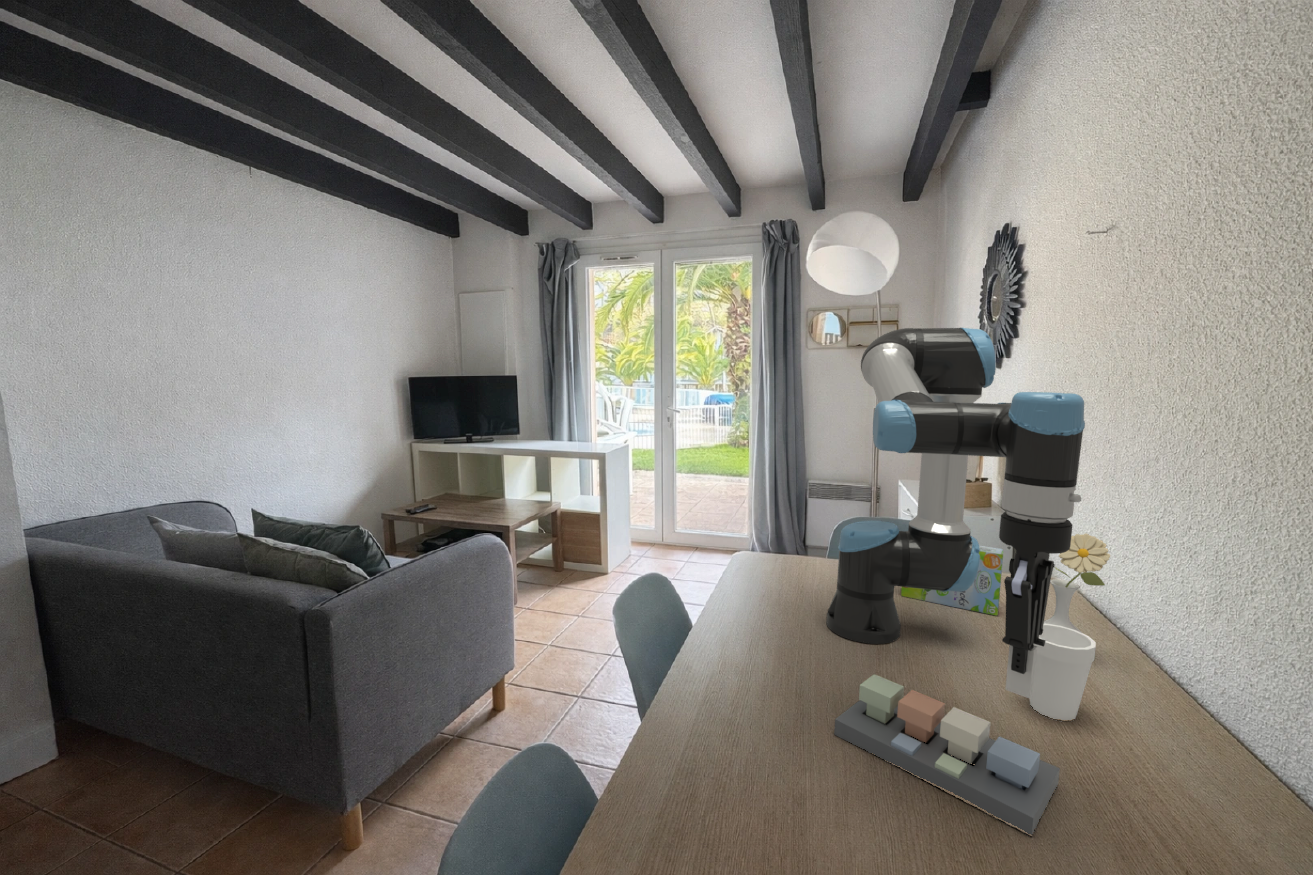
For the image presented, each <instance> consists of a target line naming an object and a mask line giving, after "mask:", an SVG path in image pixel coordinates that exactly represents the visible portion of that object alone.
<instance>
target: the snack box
mask: <svg viewBox="0 0 1313 875" xmlns="http://www.w3.org/2000/svg"><path fill="white" fill-rule="evenodd" d="M979 548H980V551H979V555H980V563H979V569H978V573H977V576H976V578H975V581H974V583H973V584H972V585H971V586H970V588H969V589H967V590H965V591H962V592H955V591H947V592H942V591H939V590H930V589H920V588H910V587H901V586H900V587H901V589H900V596H901V597H903V598H904V597H905V598H910V599H914V600H919V601H923V602H928V603H934V604H938V605H944V606H947V607H953V608H956V609H957V608H958V609H962V610H963V609H964V610H968V611H973V612H977V613H982V614H986V615H992V616H995V617H996V616H997V617H998V615H999V610H1000V608H999V607H1000V599H1001V587H1002V586H1001V584H1002V576H1003V574H1002V572H1003V560H1004V549H1003V548H1000V547H999V548H998V547H991V546H984V545H979Z"/></svg>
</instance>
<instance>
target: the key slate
mask: <svg viewBox="0 0 1313 875" xmlns="http://www.w3.org/2000/svg"><path fill="white" fill-rule="evenodd" d="M1040 758H1041V753H1039V752H1037V751H1034V750H1032V749H1030V748H1028V747H1025V746H1023V745H1021V744H1018V743H1016V742H1014V741H1011V740H1009V739H1007V738H1004V737H1002V736H998V737H997V739H996V741H995V743H994V744H993V745H992V747H991V748H990V749H989V751H988V754H987V765H986V769H988V770H991V771H993V772H995V773H996V774H995V777H997V778H999V779H1001V780H1003V781H1005V782H1007V783H1009V784H1012V785H1014V786H1016V787H1018V788H1020V789H1022V790H1024V791H1025V790H1026V788H1029V786H1030V784H1031V782H1032V781H1033V779H1034V777H1035V776H1036V774H1037V772H1038V770H1039V760H1041V759H1040Z"/></svg>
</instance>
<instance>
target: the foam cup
mask: <svg viewBox="0 0 1313 875" xmlns="http://www.w3.org/2000/svg"><path fill="white" fill-rule="evenodd" d="M1081 632H1082V631H1081ZM1081 632H1078V631H1076V630H1073V629H1070V628H1066V627H1063V626H1058V625H1052V624H1043V633H1042V634H1041V635H1039V639H1042V640H1046V641H1045V645H1044V647H1043V646H1040V645H1037V644H1033V645H1034V646H1037V654H1036V663H1035V673H1034V683H1033V693H1032V695H1031V697H1030V698H1028V700H1029V706H1030V705H1031V706H1032V707H1033V709H1034V710H1036V711H1038V712H1039V713H1040V714H1042V715H1045V716H1048V717H1050V718H1053V719H1061V720H1072V719H1075V720H1076V717H1077V716H1078V712H1079V708H1080V706H1081V701H1082V698H1083V695H1084V690H1085V688H1086V684H1087V681H1088V678H1089V674H1090V670H1091V667H1092V664H1093V662H1094V661H1095V656H1096V648H1097V647H1096V646H1097V642H1096V641H1095V640H1094V639H1093V638H1092V637H1091V636H1089V635H1087V634H1085V633H1083V632H1082V633H1081ZM1031 706H1030V707H1031ZM1032 707H1031V708H1032ZM1033 709H1032V710H1033ZM1034 710H1033V711H1034ZM1036 711H1035V712H1036ZM1039 713H1038V714H1039ZM1040 714H1039V715H1040ZM1042 715H1041V716H1042ZM1045 716H1044V717H1045ZM1050 718H1049V719H1050ZM1053 719H1052V720H1053Z"/></svg>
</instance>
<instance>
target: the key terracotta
mask: <svg viewBox="0 0 1313 875" xmlns="http://www.w3.org/2000/svg"><path fill="white" fill-rule="evenodd" d="M945 709H946V703H945V702H943V701H940V700H938V699H935V698H933V697H930V696H928V695H926V694H924V693H921V692H918V691H915V690H914V689H911V690H910V691H908V693H907V694H906V695H904V696H903V698H902V699H901V700H900V701H898V713H897V717H898V718H901V719H903V720H905V721H906V723H905V733H906V734H908V735H910V737H911V736H912V738H913V737H914V739H915V738H916V739H918V740H919V741H921V742H923V743H924V742H925V744H926V742H927V741H928V740H929V739H930V738H931V737H932V736H933V735H934V728H935V727H936V726H937V725H938V724H939V723H940V722H941V720H942V719H943V718H944V717H945V712H946V711H945Z"/></svg>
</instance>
